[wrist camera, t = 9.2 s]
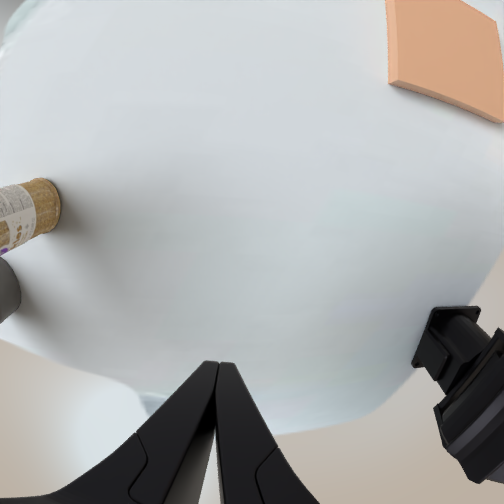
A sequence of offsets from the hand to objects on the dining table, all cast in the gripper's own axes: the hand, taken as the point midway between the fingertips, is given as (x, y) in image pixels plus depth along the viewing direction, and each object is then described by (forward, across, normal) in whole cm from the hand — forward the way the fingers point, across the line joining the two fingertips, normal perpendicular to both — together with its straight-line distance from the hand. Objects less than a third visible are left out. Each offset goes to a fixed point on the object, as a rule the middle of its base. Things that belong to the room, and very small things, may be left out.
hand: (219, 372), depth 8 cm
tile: (+12, -15, -17) cm, 26 cm away
